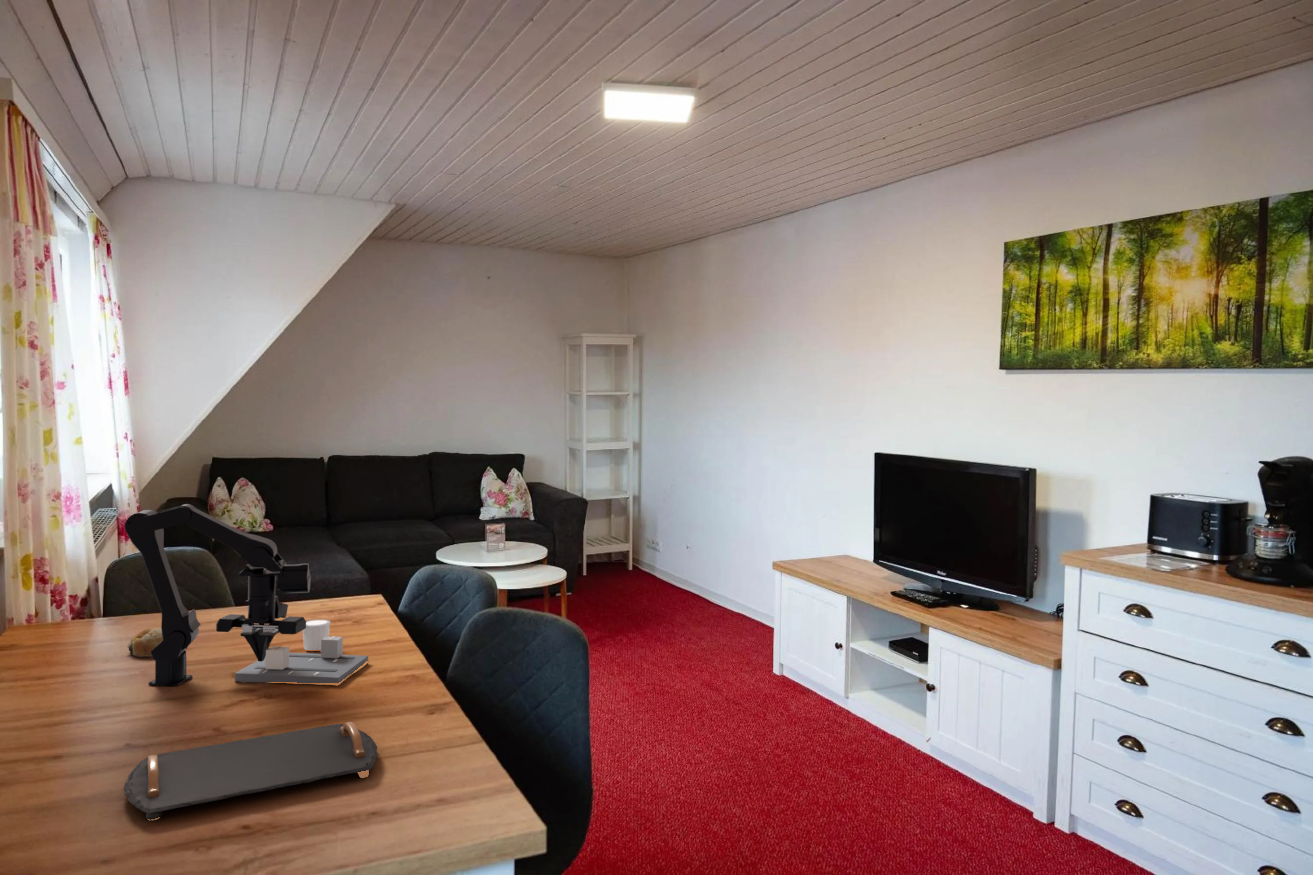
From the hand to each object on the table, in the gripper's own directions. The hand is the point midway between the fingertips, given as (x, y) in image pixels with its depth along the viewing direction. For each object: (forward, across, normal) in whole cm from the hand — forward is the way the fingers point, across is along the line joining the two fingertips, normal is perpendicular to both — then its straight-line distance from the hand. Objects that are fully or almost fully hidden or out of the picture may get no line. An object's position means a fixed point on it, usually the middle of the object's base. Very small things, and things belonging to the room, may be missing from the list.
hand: (261, 660), depth 194 cm
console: (+4, -8, -4) cm, 10 cm away
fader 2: (+1, -12, -10) cm, 16 cm away
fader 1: (+1, -4, 0) cm, 4 cm away
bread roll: (+4, +36, -15) cm, 39 cm away
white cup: (+4, -2, -23) cm, 23 cm away
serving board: (+4, -26, +50) cm, 57 cm away
